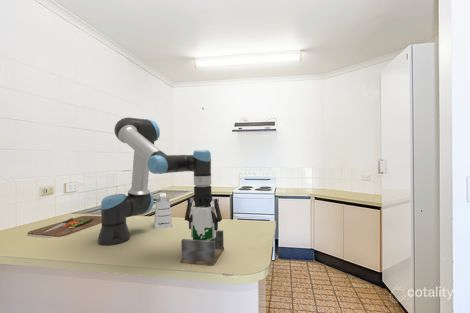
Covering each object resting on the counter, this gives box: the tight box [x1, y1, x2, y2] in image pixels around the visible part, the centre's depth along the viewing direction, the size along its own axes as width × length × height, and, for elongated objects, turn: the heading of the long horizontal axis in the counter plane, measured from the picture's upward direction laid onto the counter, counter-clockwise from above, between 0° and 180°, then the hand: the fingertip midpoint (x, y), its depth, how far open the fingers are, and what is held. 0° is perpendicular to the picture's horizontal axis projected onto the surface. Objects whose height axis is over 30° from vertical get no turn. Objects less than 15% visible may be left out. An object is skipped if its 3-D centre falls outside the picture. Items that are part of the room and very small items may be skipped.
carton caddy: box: [180, 229, 225, 267], centre depth 107 cm, size 14×17×9 cm
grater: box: [153, 192, 174, 230], centre depth 153 cm, size 10×10×20 cm
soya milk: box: [191, 202, 216, 241], centre depth 106 cm, size 9×9×20 cm
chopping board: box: [26, 215, 102, 239], centre depth 157 cm, size 45×27×3 cm, turn 166°
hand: (203, 236), depth 107 cm, fingers closed on soya milk, 9 cm apart
